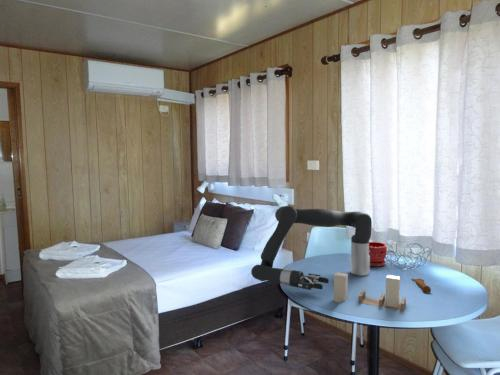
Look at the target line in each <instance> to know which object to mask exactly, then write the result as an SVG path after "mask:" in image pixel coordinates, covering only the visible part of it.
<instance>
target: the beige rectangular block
mask: <svg viewBox="0 0 500 375" xmlns="http://www.w3.org/2000/svg"><path fill="white" fill-rule="evenodd" d="M348 288H349V274H348V273H344V272H339V271H337V272H335V273H334V274H333V302H335V303H337V304H338V303H339V304H340V303H341V302H346V301H347V299H348V295H349V294H348V292H349V289H348Z"/></svg>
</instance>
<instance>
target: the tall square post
mask: <svg viewBox="0 0 500 375" xmlns="http://www.w3.org/2000/svg"><path fill="white" fill-rule="evenodd" d="M400 291H401V276H399V275H391V274H387V275H386V278H385V306H389V307H395V308H398V307H399V304H400V303H401V300H400V297H401V292H400Z"/></svg>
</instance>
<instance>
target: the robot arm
mask: <svg viewBox="0 0 500 375" xmlns="http://www.w3.org/2000/svg"><path fill="white" fill-rule="evenodd" d="M274 216H275V217H274V218H275V219H276V221H277V225H276V228H275V230H274V231H273V232H272V235H271V236H270V237H269V239H268V240H267V242H266V243H265V245H264V247H263V249H262V252H261V254H260V259H261V263H260V264H256V265H254V266H253V267H252V268H251V270H250V272H251V276H252V277H253V278H254V279H255V280H257V281H260V282H266V281H268V282H271V283H275V284H279V285H283V286H287V287H293V288H298V289H299V288H300V289H304V290H309V291H311V290H312V289H317V290H323V289H324V285H323V284H322V283H324V284H329V283H330V282H329V280H330V279H329V278H328V277H322V276H321V274H315V273H307V275H305V274H304V272H303V271H301V270H296V269H295V270H294V269H287V268H278V267H274V262H275V259H276V258H277V255H278V254H279V253H278V252H279V250H280V248H281V246H282V243H283V242H284V240H285V238H286V236H287V234H288V233H289V231H290V229H291V228H292V226H293V225H294V224H304V225H309V226H314V227H321V228H322V227H323V228H331V227H332V228H333V227H337V226H343V227H344V226H346V227H351V228H354V229H355V232H354V234H353V235H351V237H350V238H351V239H350V244H351V245H350V273H351V274H352V275H355V276H359V277H360V276H362V277H363V276H368V275H369V274H370V273H371V272H370V270H371V265H370V256H369V242H370V239H371V238H372V236H371V235H372V226H373V224H372V218H371V216H370V215H369V214H368V213H365V212H361V211H339V210H334V209H328V208H326V209H325V208H305V209H300V208H295V207H294V206H292V205H282V206H280V207H279V208H277V209H276V210H275V214H274Z"/></svg>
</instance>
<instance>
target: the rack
mask: <svg viewBox="0 0 500 375" xmlns="http://www.w3.org/2000/svg"><path fill="white" fill-rule="evenodd" d="M366 294H367V291H366V290H365V289H362V290H361V292H360V294H359V295H358V303H359V304H362V305H363V304H364V305H369V306H372V307H374V306H375V307H378V308H379V307H380V308H384V309H390V310H395V311H401V312H404V311H405V308H406V305H407V304H406V303H407V297H406V296H402V298H401V300H400V304H399V307H398V308H395V307H389V306H385V299H386V292H385V293H384V292H383V293H381V294H380V297H379V298H374V297H369V296H366Z"/></svg>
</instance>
